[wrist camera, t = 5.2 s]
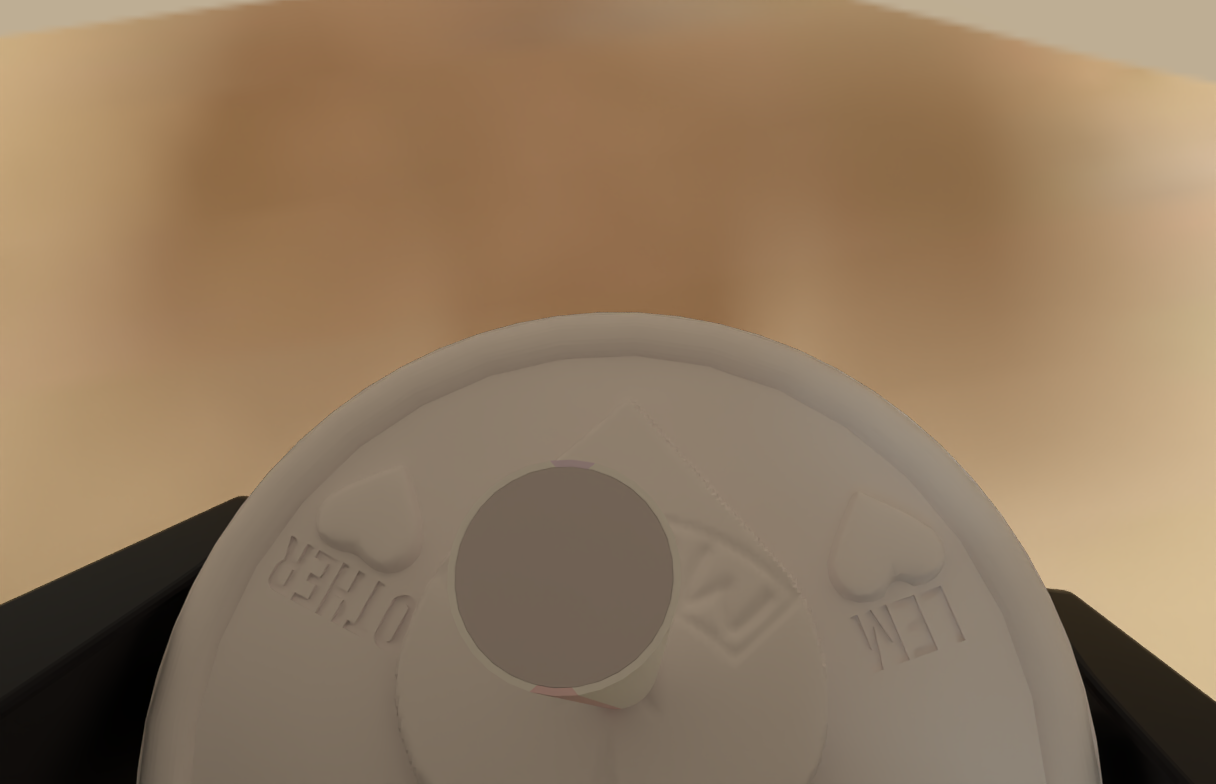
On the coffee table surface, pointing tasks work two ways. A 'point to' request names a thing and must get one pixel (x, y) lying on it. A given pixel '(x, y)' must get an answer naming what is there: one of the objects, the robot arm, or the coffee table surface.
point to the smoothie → (618, 585)
